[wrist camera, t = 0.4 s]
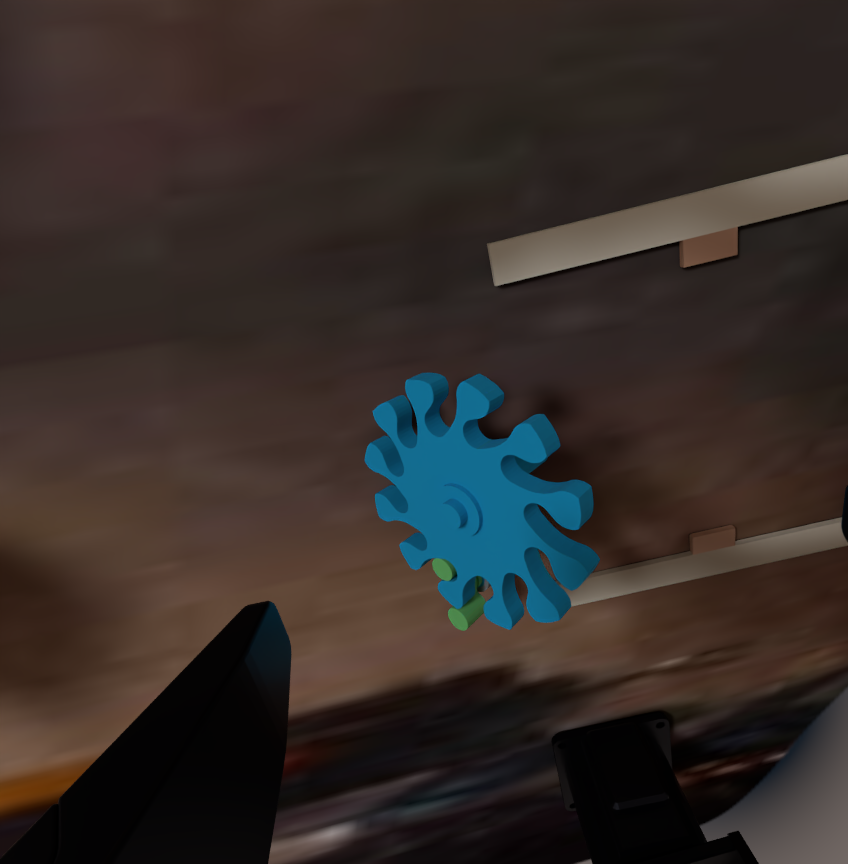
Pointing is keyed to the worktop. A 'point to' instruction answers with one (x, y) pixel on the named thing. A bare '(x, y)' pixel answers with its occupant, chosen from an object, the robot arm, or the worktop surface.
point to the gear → (480, 503)
